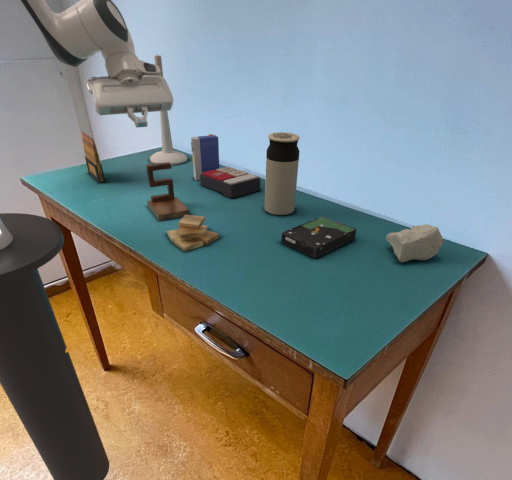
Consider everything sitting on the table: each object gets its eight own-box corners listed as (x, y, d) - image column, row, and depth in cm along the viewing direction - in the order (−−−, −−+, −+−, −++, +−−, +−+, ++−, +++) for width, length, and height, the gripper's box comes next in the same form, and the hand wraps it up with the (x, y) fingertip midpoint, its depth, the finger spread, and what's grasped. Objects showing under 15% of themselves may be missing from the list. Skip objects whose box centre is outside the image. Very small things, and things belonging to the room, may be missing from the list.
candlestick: (193, 157, 141) (186, 53, 122) (175, 167, 132) (164, 56, 112) (162, 152, 144) (150, 51, 125) (142, 162, 135) (126, 53, 116)
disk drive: (315, 260, 85) (355, 239, 93) (316, 248, 83) (357, 228, 91) (280, 243, 90) (320, 225, 98) (280, 232, 89) (322, 214, 97)
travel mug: (268, 216, 102) (271, 140, 90) (261, 205, 108) (263, 132, 96) (297, 215, 103) (305, 139, 92) (289, 203, 109) (295, 131, 98)
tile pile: (185, 252, 86) (183, 235, 83) (161, 235, 92) (159, 218, 89) (224, 239, 91) (223, 223, 88) (199, 224, 97) (198, 208, 95)
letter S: (158, 220, 98) (152, 177, 91) (148, 206, 105) (141, 165, 98) (189, 215, 101) (185, 172, 94) (177, 202, 108) (172, 161, 101)
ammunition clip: (88, 173, 125) (78, 131, 117) (94, 172, 125) (84, 130, 118) (99, 183, 118) (89, 139, 110) (105, 182, 119) (96, 138, 111)
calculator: (227, 165, 123) (260, 174, 114) (228, 179, 125) (260, 190, 116) (199, 171, 117) (231, 182, 108) (200, 186, 119) (232, 198, 111)
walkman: (216, 175, 126) (214, 133, 119) (219, 177, 125) (218, 135, 117) (193, 177, 124) (189, 135, 116) (195, 180, 122) (192, 137, 114)
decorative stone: (409, 232, 93) (442, 208, 84) (422, 268, 91) (457, 247, 82) (372, 235, 89) (402, 210, 80) (386, 273, 87) (418, 251, 78)
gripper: (83, 68, 97) (100, 121, 97) (165, 65, 104) (180, 115, 104) (85, 86, 103) (101, 136, 102) (162, 83, 110) (177, 130, 110)
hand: (142, 125), depth 103 cm, fingers closed
